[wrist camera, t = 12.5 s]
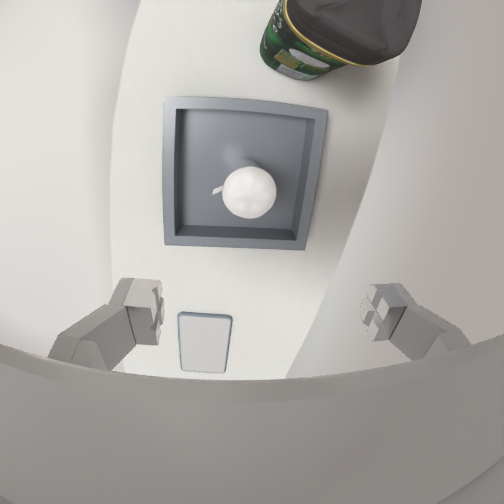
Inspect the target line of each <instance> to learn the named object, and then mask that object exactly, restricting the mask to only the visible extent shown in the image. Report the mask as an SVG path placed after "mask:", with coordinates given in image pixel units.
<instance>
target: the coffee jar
mask: <svg viewBox="0 0 504 504" xmlns="http://www.w3.org/2000/svg"><path fill="white" fill-rule="evenodd" d="M421 3H422V0H279V2H278V4H277V6H276V8H275V11H274V13H273V15H272V16H271V18H270V20H269V23H268V25H267V27H266V29H265V32H264V34H263V37H262V40H261V44H260V54H261V57H262V59H263V60H264V62H265V63H266V64H267V65H268V66H270V67H271V68H273V69H275V70H277V71H278V72H280V73H283V74H285V75H287V76H290V77H293V78H297V79H301V80H310V79H314V78H316V77H319V76H321V75H323V74H326V73H327V72H330V71H332V70H334V69H337V68H339V67H342V66H344V65H347V64H349V65H353V66H373V65H376V64H379V63H381V62H384V61H387V60H389V59H392V58H394V57H396V56H398V55H400V54H401V53H402V52H403V51H404V50H405V48H406V47H407V45H408V43H409V41H410V38H411V36H412V34H413V31H414V29H415V26H416V23H417V20H418V16H419V13H420V8H421Z"/></svg>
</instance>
